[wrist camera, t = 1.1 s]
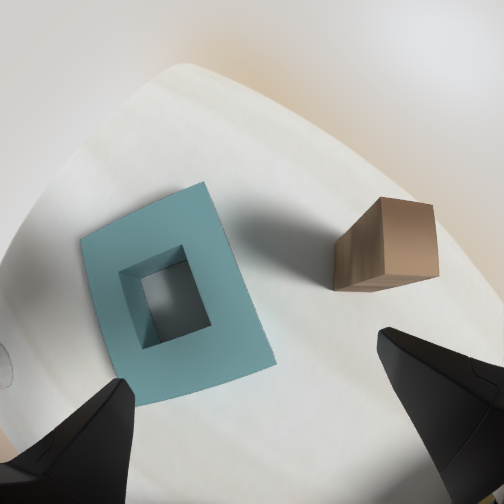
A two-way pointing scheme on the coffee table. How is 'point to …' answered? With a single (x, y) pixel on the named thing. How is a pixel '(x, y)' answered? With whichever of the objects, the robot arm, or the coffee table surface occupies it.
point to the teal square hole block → (137, 311)
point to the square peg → (387, 247)
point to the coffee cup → (5, 368)
